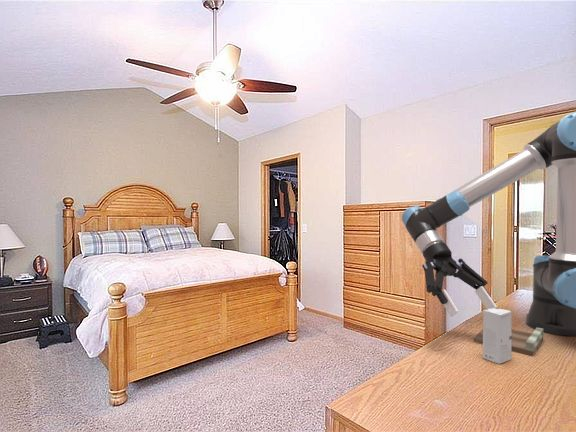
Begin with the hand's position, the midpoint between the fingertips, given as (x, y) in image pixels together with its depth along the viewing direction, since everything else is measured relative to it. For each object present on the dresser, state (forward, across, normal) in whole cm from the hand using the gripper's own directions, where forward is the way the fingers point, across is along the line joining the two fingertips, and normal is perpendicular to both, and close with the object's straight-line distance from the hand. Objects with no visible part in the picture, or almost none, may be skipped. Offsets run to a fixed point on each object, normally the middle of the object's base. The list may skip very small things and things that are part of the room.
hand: (474, 311), depth 93 cm
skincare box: (+12, -1, -3) cm, 12 cm away
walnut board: (+6, -16, -8) cm, 19 cm away
